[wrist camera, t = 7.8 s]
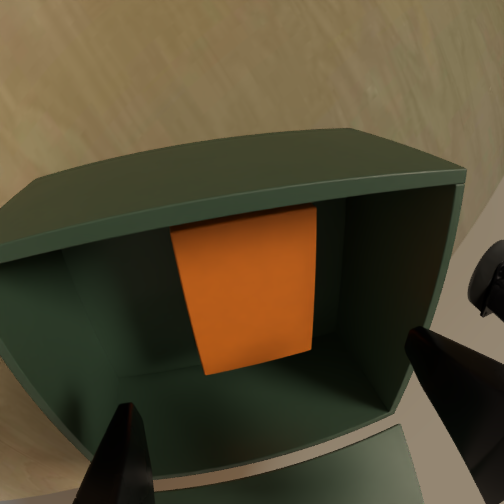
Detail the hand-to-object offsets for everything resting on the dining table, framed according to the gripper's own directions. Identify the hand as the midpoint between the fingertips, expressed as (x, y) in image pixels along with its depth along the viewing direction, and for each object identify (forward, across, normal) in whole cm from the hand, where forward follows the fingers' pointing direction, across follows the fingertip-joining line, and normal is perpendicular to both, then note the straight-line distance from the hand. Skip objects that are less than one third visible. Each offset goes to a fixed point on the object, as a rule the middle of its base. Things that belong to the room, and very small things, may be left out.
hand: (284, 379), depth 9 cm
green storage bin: (+8, +1, +1) cm, 8 cm away
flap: (-3, +1, +9) cm, 9 cm away
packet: (+8, 0, 0) cm, 8 cm away
